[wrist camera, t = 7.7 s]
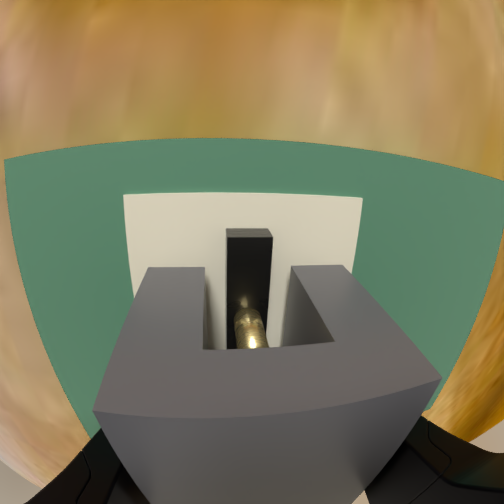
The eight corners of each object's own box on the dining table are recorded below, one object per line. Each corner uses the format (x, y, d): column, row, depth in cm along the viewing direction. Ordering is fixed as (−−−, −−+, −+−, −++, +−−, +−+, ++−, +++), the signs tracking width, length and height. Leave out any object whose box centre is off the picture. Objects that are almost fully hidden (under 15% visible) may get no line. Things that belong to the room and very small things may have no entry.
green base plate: (496, 179, 10) (512, 184, 9) (423, 398, 15) (430, 409, 14) (20, 156, 8) (2, 159, 6) (95, 427, 13) (91, 442, 12)
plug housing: (342, 264, 9) (445, 381, 4) (308, 414, 11) (343, 514, 6) (147, 267, 8) (90, 415, 3) (175, 421, 10) (172, 532, 6)
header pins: (268, 228, 8) (288, 263, 6) (254, 424, 12) (262, 469, 9) (225, 228, 8) (231, 263, 6) (227, 425, 12) (232, 471, 9)
